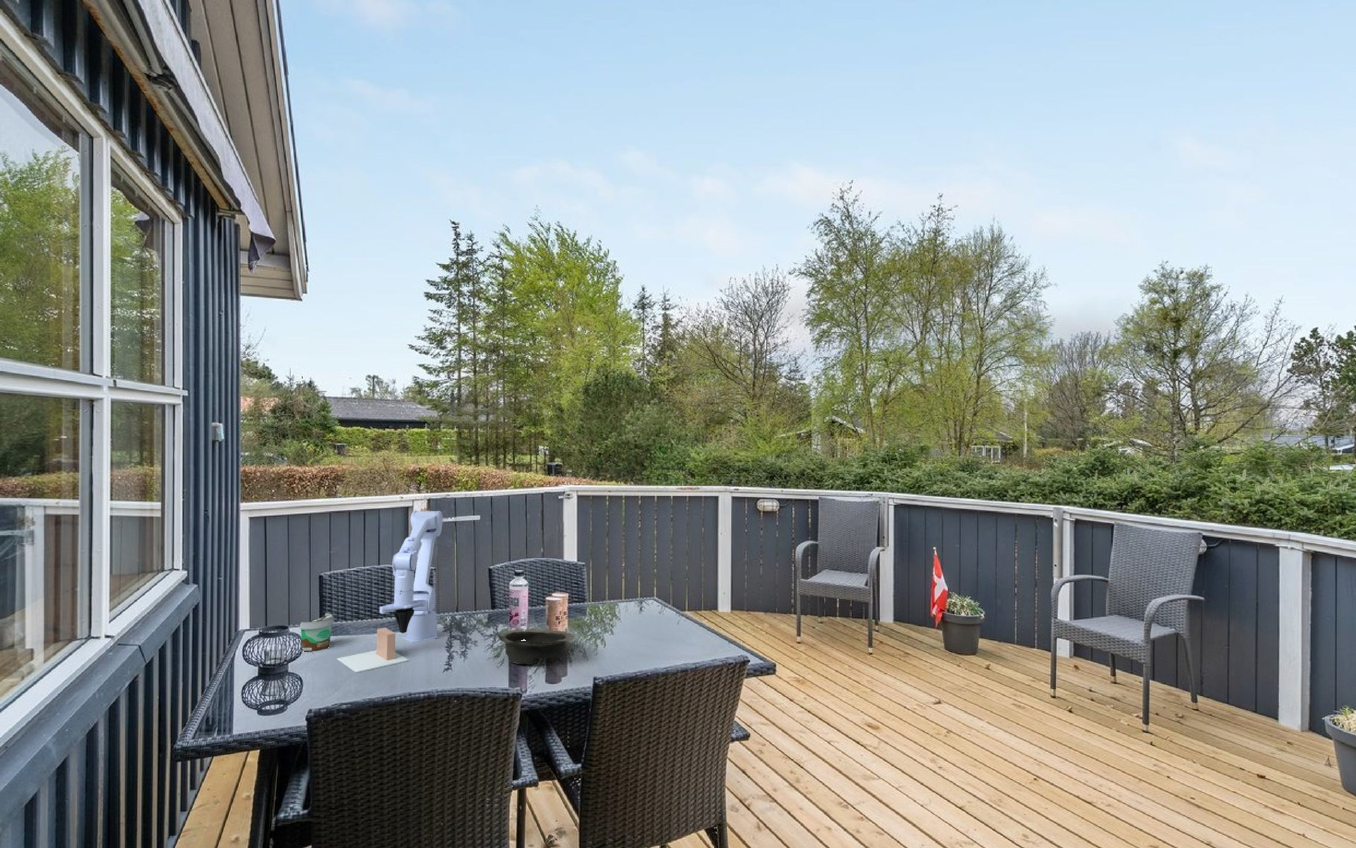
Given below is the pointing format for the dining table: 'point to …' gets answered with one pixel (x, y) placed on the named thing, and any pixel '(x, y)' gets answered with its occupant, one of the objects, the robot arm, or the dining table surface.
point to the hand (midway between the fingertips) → (402, 632)
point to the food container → (316, 633)
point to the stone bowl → (534, 645)
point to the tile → (385, 644)
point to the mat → (369, 661)
